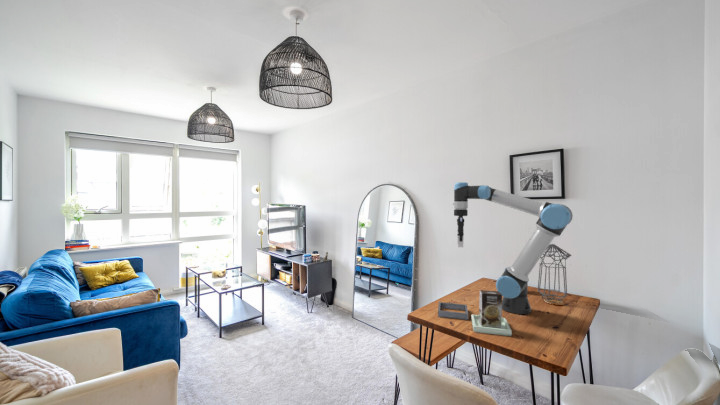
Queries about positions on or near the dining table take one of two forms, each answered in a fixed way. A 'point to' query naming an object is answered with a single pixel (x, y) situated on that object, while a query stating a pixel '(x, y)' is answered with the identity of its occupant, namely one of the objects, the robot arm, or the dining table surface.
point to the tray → (504, 329)
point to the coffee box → (490, 309)
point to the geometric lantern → (555, 270)
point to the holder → (453, 314)
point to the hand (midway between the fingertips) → (460, 245)
